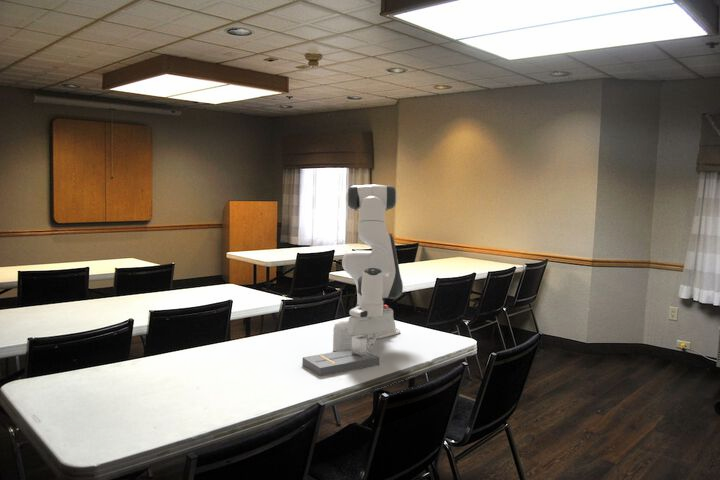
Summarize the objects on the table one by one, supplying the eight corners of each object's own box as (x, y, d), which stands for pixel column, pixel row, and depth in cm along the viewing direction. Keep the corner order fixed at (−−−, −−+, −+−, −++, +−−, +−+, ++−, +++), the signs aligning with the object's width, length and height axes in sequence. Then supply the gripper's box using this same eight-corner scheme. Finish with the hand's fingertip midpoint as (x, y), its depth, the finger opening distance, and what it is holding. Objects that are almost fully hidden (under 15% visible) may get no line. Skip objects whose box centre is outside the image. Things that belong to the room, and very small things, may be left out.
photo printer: (356, 348, 228) (357, 320, 227) (358, 351, 224) (358, 322, 223) (332, 349, 227) (333, 320, 226) (333, 352, 223) (333, 323, 222)
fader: (358, 350, 215) (358, 334, 214) (366, 354, 209) (367, 337, 209) (351, 351, 213) (351, 335, 212) (359, 355, 208) (360, 339, 207)
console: (359, 354, 220) (359, 347, 220) (379, 364, 208) (379, 356, 208) (302, 365, 206) (302, 357, 206) (320, 376, 194) (320, 367, 194)
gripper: (388, 305, 221) (387, 338, 222) (345, 310, 210) (345, 345, 211) (397, 308, 216) (396, 342, 217) (354, 314, 205) (353, 349, 206)
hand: (371, 344), depth 214 cm, fingers closed
